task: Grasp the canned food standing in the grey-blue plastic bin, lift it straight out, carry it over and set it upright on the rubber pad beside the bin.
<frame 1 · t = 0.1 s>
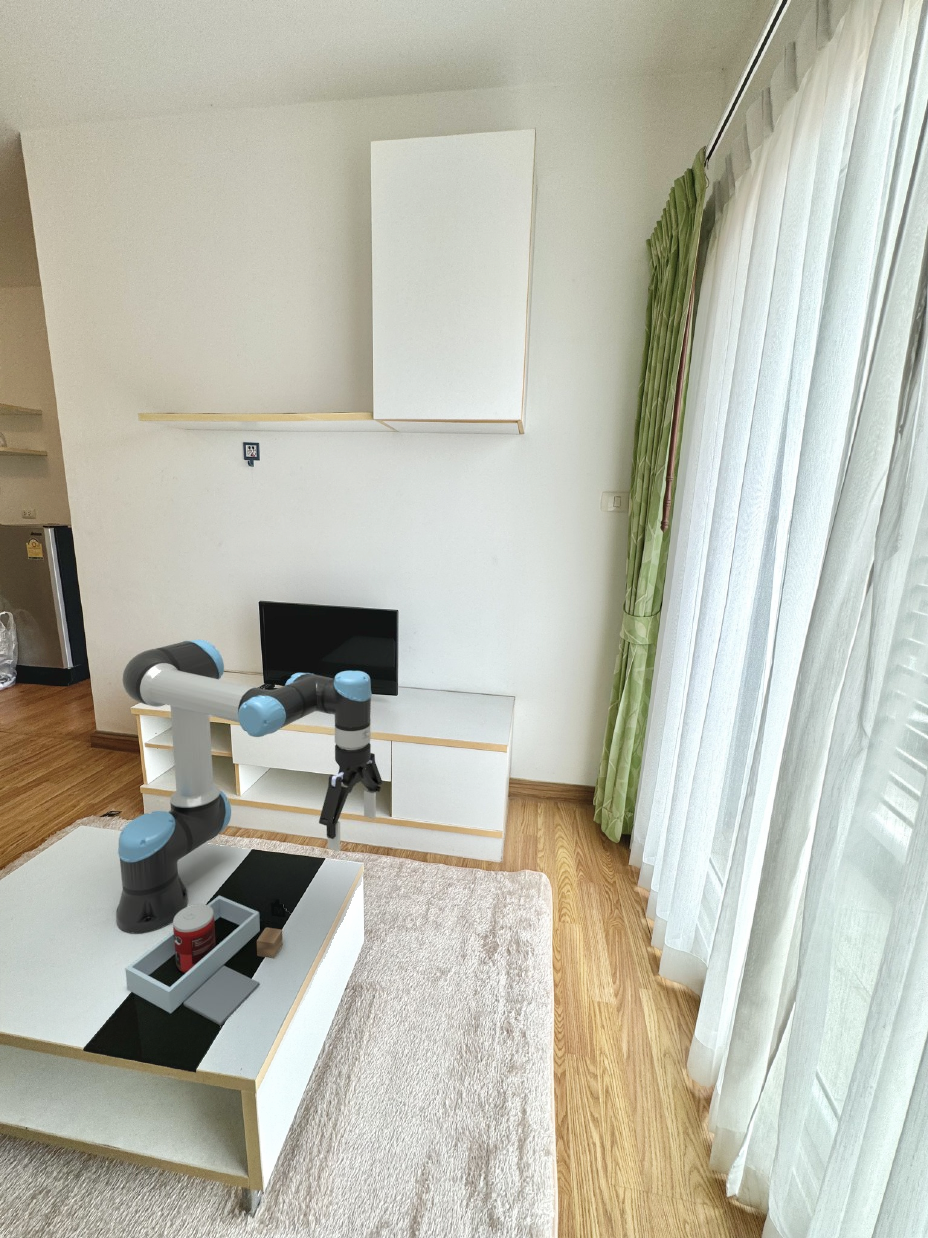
hand: (352, 832, 119), 28 cm above the table, fingers open, 13 cm apart
bin: (198, 958, 118), on the table
walnut block: (270, 950, 121), on the table
pad: (222, 995, 110), on the table
canned food: (196, 960, 118), resting in bin
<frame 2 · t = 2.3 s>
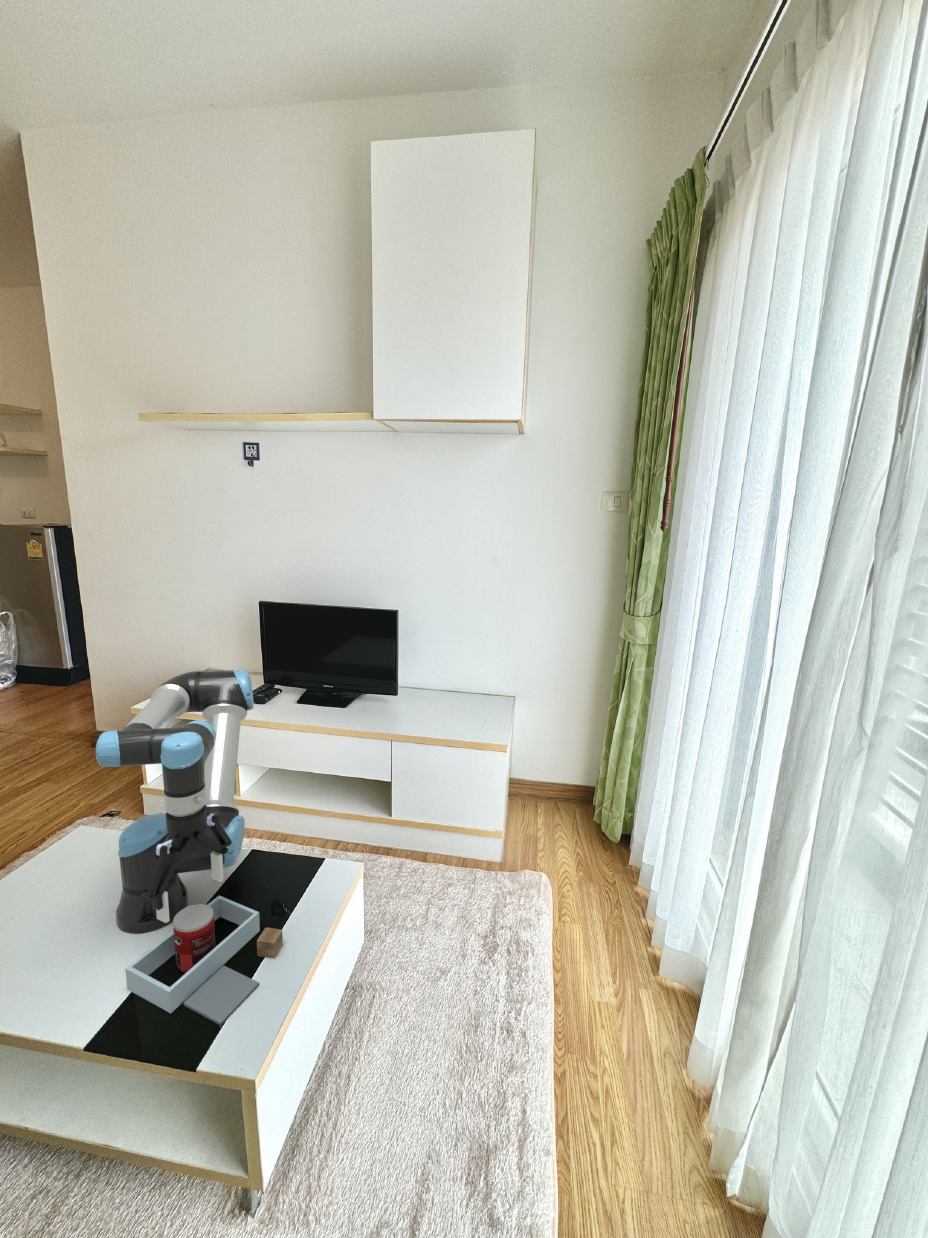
hand: (192, 899, 115), 15 cm above the table, fingers open, 13 cm apart
nothing on the table moved.
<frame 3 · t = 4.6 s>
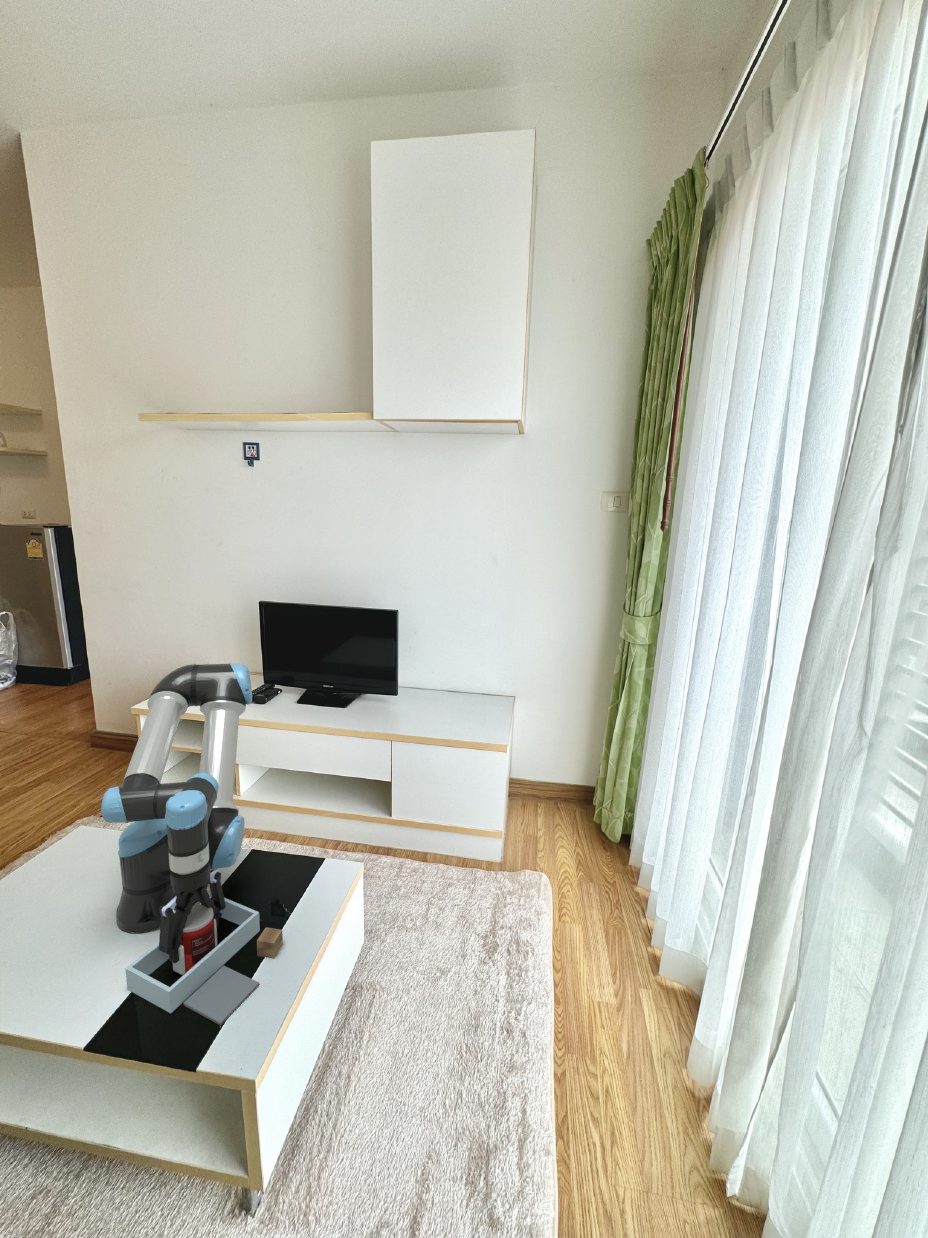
hand: (195, 957, 118), 1 cm above the table, fingers closed on canned food, 8 cm apart
canned food: (196, 960, 118), resting in bin, touching gripper
everything else where it was.
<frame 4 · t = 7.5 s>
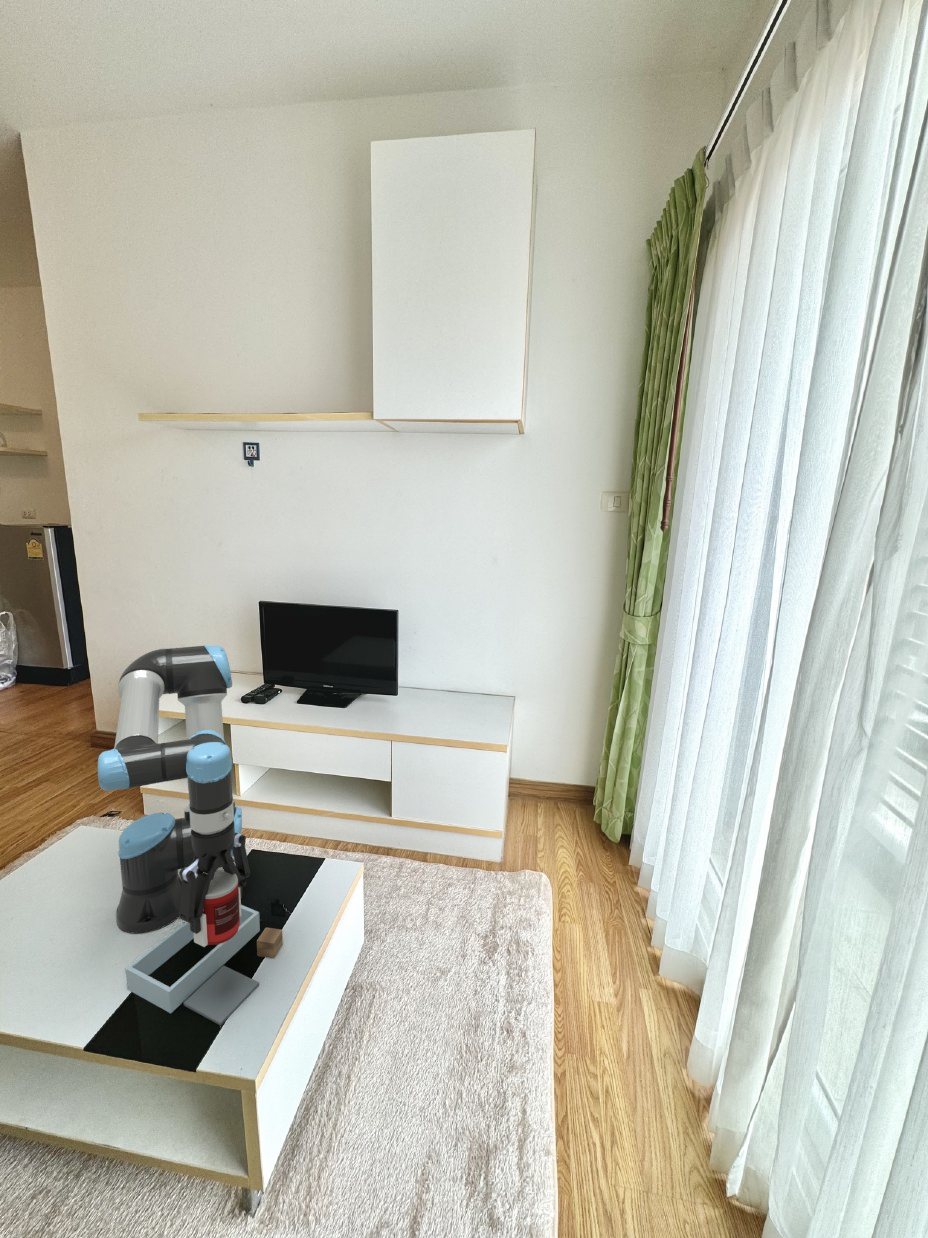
hand: (218, 928, 106), 16 cm above the table, fingers closed on canned food, 8 cm apart
canned food: (218, 932, 107), point 15 cm above the table, touching gripper
everything else where it was.
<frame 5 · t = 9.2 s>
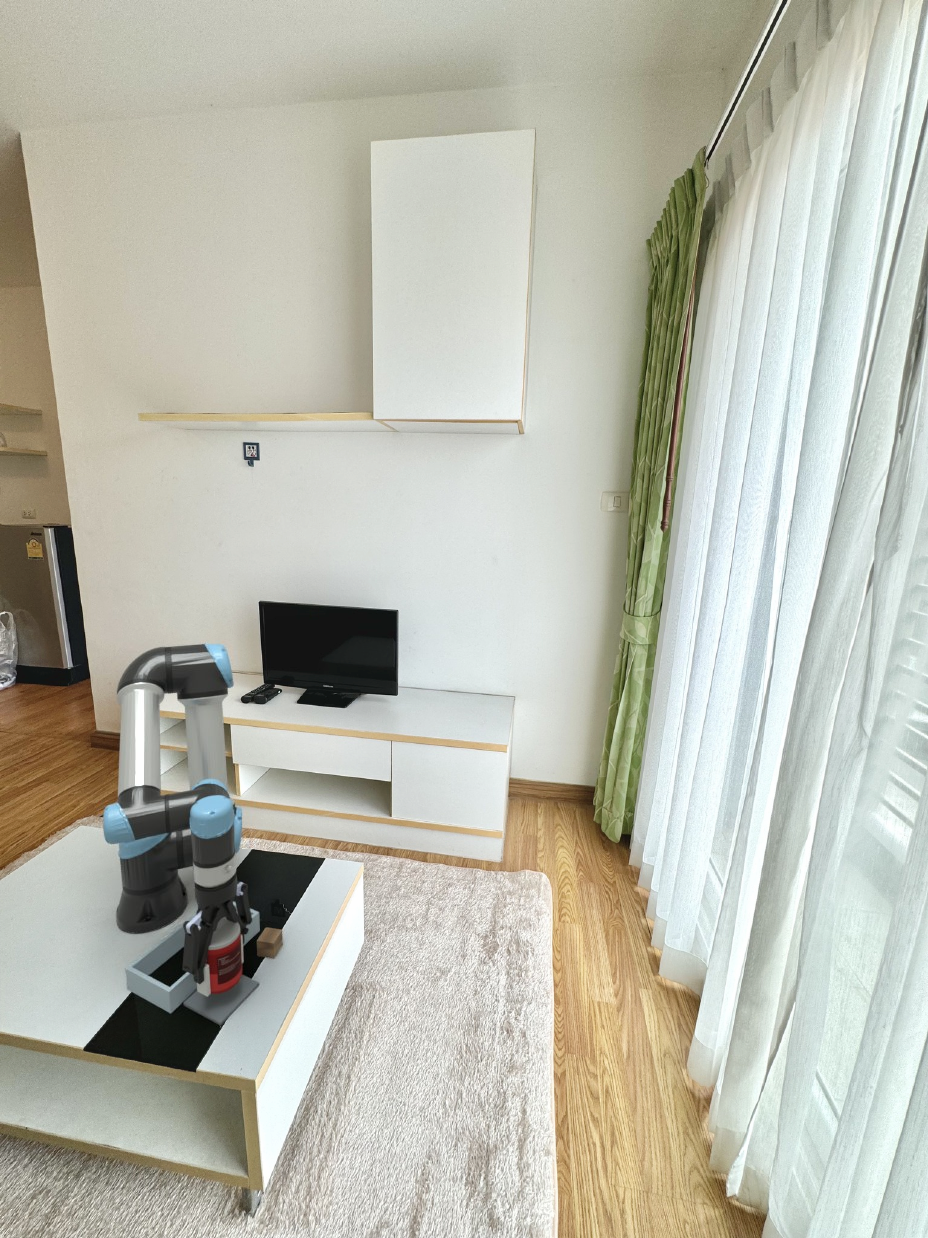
hand: (221, 976, 109), 5 cm above the table, fingers closed on canned food, 8 cm apart
canned food: (221, 980, 109), point 4 cm above the table, touching gripper
everything else where it was.
when the fingers open (3 cm above the table, at t = 10.5 s): canned food drops 1 cm, resting on pad.
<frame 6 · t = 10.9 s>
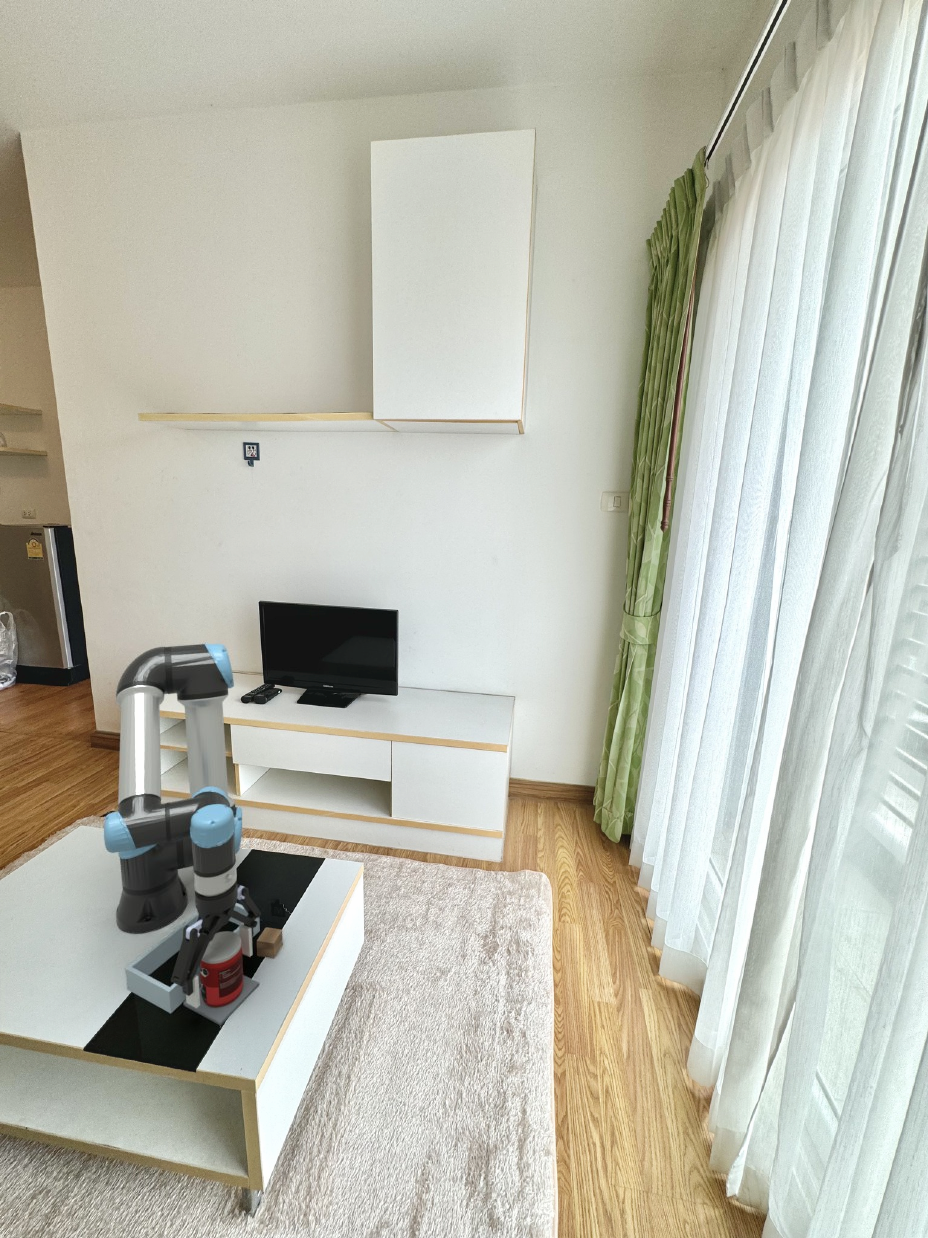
hand: (221, 977, 109), 4 cm above the table, fingers open, 13 cm apart
canned food: (222, 992, 110), resting on pad
everything else where it was.
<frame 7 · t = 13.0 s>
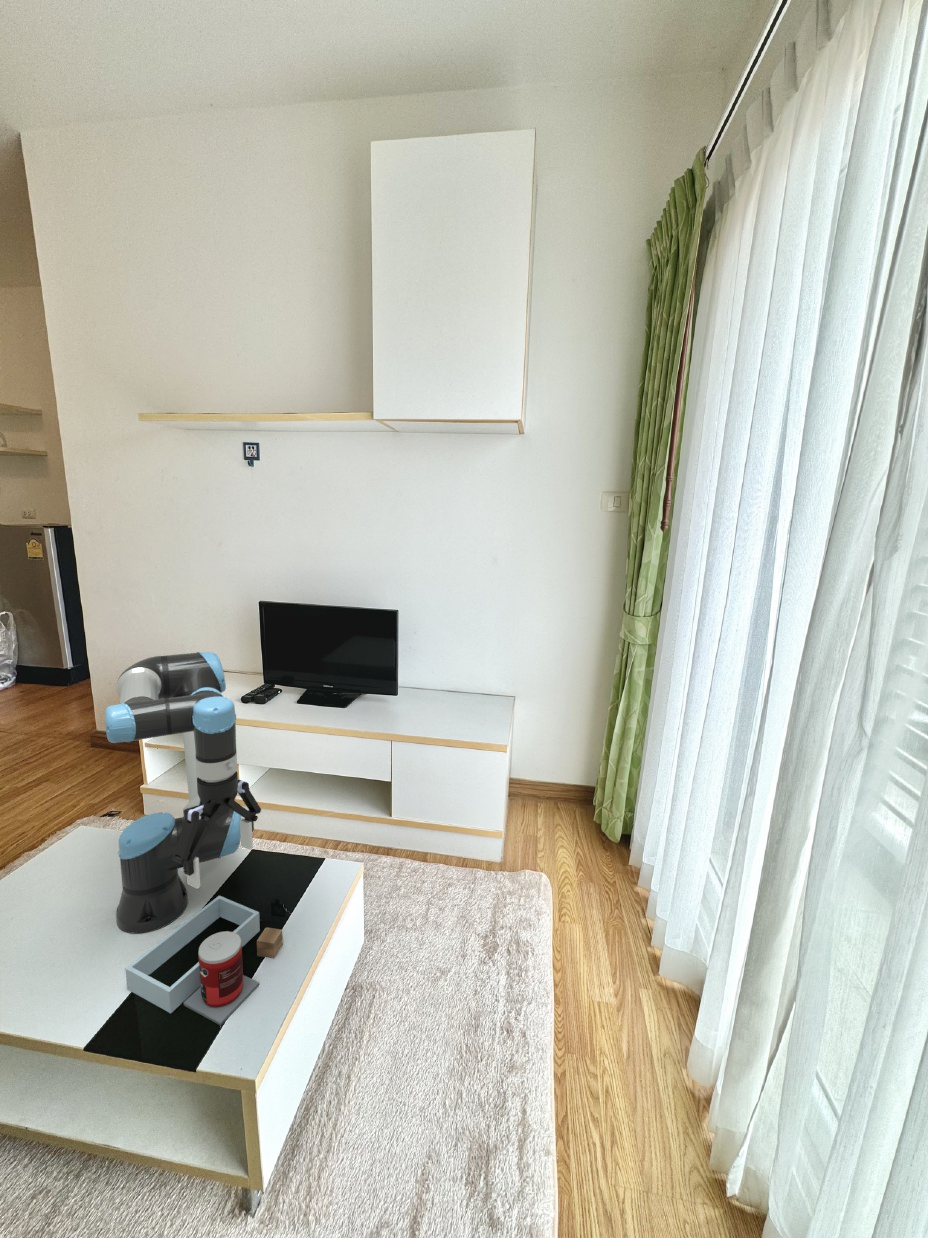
hand: (221, 865, 113), 24 cm above the table, fingers open, 13 cm apart
nothing on the table moved.
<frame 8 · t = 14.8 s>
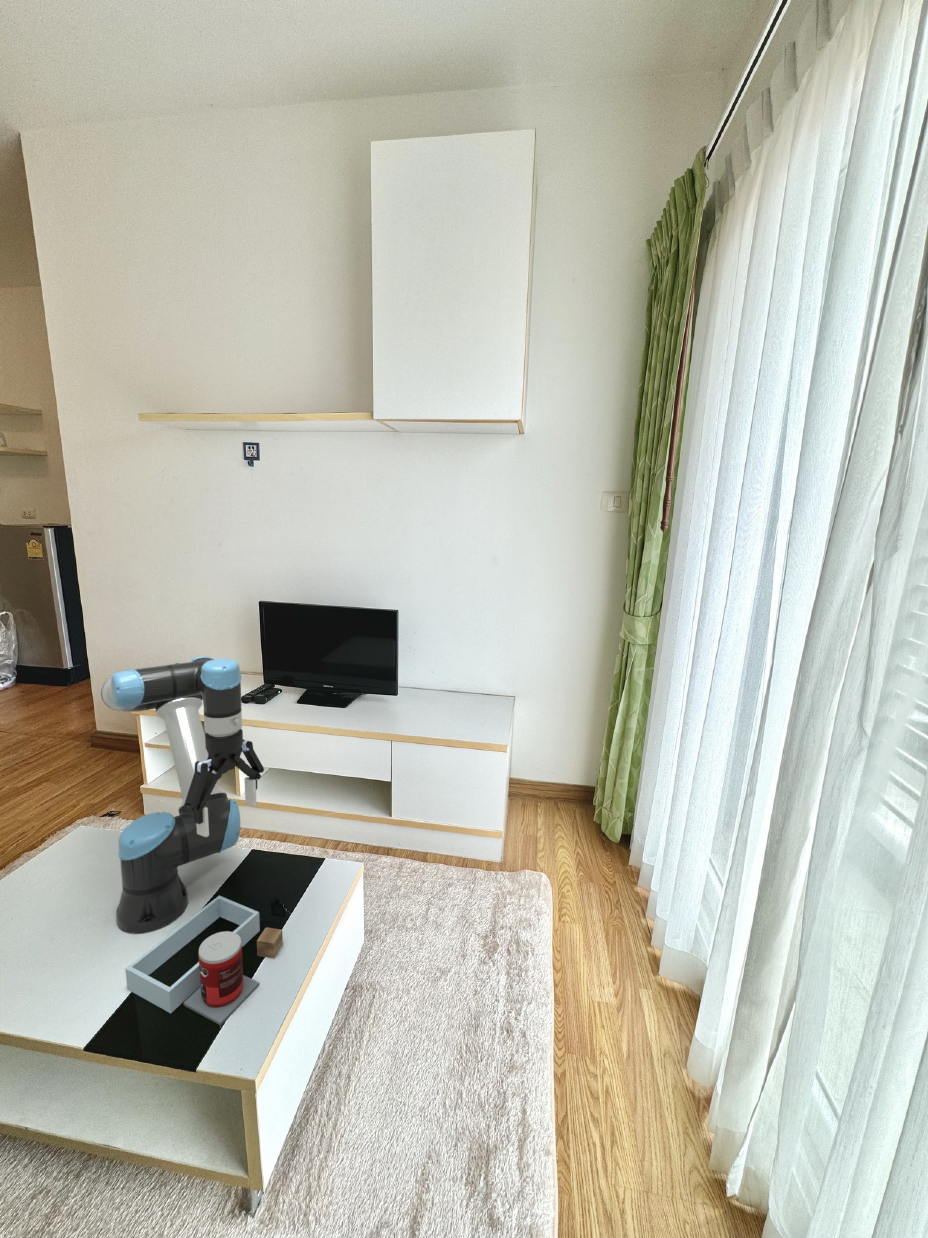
hand: (228, 819, 121), 29 cm above the table, fingers open, 13 cm apart
nothing on the table moved.
at the end: canned food inside the target area on the pad (0.2 cm from its centre), point 0.4 cm above the pad's base; canned food tilted 0°; the gripper is holding nothing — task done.
